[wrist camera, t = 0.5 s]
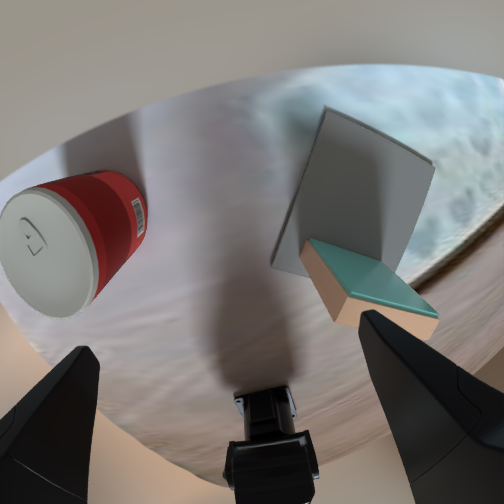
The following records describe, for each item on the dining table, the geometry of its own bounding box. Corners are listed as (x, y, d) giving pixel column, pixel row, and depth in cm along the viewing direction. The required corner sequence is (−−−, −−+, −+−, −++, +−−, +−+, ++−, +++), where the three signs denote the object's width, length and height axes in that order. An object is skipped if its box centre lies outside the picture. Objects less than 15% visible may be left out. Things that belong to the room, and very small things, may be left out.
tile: (373, 279, 26) (427, 340, 16) (299, 257, 25) (334, 322, 15) (382, 261, 25) (442, 316, 16) (307, 236, 24) (349, 292, 15)
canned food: (105, 151, 21) (23, 160, 11) (169, 212, 23) (121, 262, 13) (61, 215, 23) (-16, 257, 12) (119, 271, 25) (63, 341, 14)
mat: (380, 295, 27) (382, 297, 27) (271, 265, 25) (271, 267, 25) (432, 167, 23) (435, 167, 22) (325, 111, 21) (327, 110, 20)
